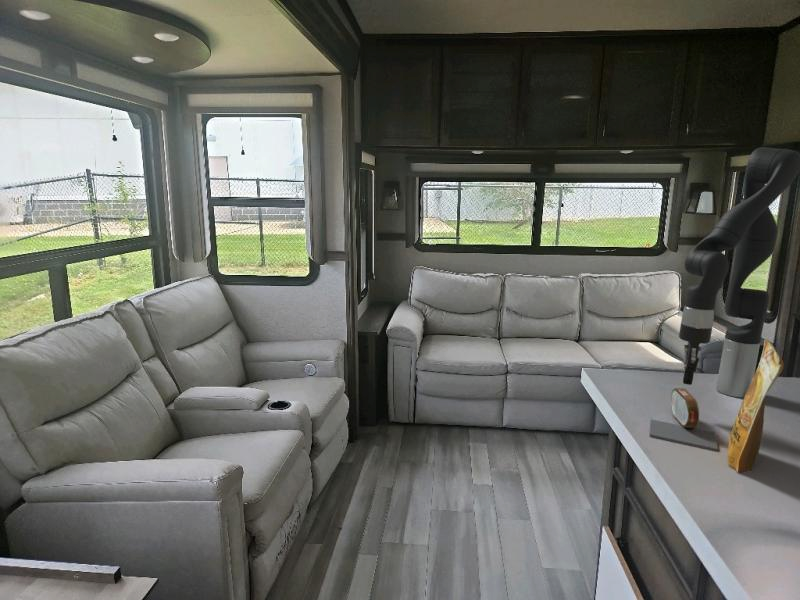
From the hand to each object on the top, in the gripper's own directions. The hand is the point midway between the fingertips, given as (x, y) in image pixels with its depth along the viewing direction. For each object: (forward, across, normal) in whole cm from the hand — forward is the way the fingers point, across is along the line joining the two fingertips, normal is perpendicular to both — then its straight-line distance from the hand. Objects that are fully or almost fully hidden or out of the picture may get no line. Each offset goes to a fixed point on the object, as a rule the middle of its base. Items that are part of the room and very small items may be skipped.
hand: (687, 383), depth 144 cm
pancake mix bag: (+10, +22, +12) cm, 27 cm away
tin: (+9, +8, 0) cm, 12 cm away
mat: (+9, +15, -1) cm, 18 cm away
